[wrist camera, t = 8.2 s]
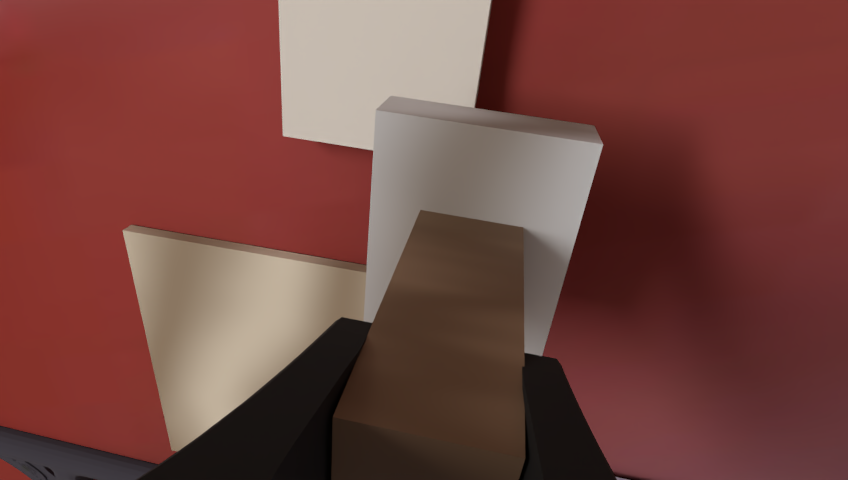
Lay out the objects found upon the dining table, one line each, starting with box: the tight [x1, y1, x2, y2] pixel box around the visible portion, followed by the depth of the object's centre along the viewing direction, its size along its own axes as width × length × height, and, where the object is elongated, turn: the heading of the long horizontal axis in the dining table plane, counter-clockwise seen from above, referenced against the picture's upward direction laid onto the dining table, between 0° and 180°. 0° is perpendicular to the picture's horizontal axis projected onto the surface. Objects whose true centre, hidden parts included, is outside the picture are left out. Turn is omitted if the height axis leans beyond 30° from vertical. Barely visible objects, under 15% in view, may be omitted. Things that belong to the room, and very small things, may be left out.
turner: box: [331, 96, 603, 480], centre depth 10 cm, size 5×7×8 cm
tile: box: [279, 0, 492, 150], centre depth 15 cm, size 2×7×6 cm
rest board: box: [123, 225, 367, 451], centre depth 22 cm, size 16×13×1 cm
